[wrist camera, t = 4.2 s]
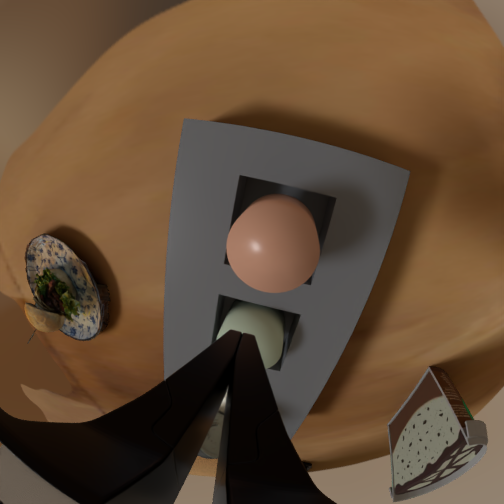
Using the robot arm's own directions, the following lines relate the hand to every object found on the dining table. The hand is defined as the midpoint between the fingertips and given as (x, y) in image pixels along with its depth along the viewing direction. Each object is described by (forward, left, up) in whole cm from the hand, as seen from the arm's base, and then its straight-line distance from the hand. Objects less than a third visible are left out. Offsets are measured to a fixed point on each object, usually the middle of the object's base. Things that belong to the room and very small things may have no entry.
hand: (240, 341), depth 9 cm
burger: (+19, +9, -10) cm, 23 cm away
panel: (0, +5, -10) cm, 11 cm away
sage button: (0, +5, -8) cm, 10 cm away
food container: (-20, +12, -10) cm, 26 cm away
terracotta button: (0, -2, -7) cm, 7 cm away
